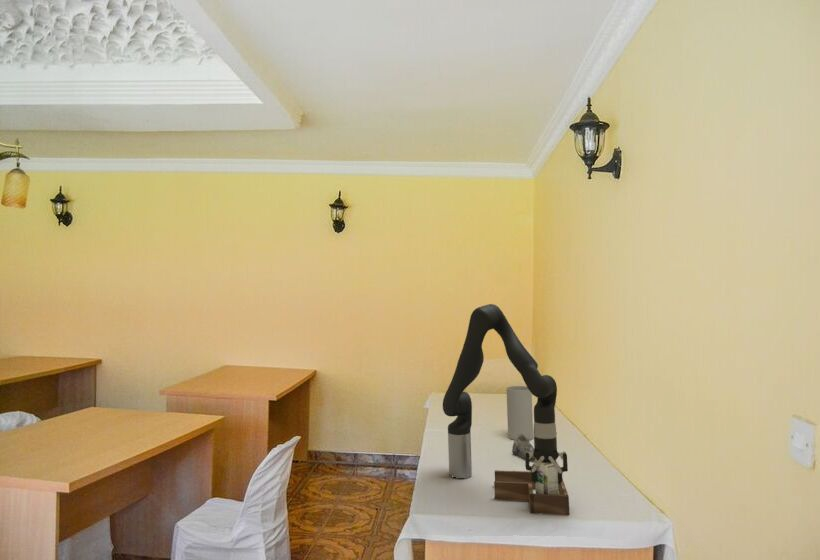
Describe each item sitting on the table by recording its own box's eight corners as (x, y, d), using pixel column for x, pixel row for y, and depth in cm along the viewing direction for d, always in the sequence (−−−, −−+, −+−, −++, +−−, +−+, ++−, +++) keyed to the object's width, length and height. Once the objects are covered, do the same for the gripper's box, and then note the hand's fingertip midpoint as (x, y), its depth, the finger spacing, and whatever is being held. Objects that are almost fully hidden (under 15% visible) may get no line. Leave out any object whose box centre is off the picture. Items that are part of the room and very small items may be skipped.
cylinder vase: (523, 442, 244) (521, 391, 245) (503, 438, 253) (501, 388, 254) (538, 437, 252) (536, 387, 253) (518, 433, 262) (516, 385, 262)
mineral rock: (537, 462, 215) (536, 439, 215) (512, 461, 217) (511, 438, 217) (536, 453, 227) (535, 431, 228) (512, 452, 229) (511, 430, 230)
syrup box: (535, 502, 172) (533, 459, 172) (548, 499, 174) (547, 457, 175) (545, 508, 167) (544, 464, 167) (560, 505, 169) (558, 462, 169)
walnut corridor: (495, 486, 189) (494, 470, 189) (561, 488, 185) (560, 472, 185) (494, 511, 167) (493, 493, 167) (569, 514, 163) (568, 496, 163)
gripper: (565, 432, 173) (567, 479, 173) (523, 431, 176) (524, 478, 175) (568, 438, 166) (570, 488, 165) (524, 437, 169) (525, 486, 168)
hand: (546, 482), depth 170 cm, fingers closed on syrup box, 7 cm apart
